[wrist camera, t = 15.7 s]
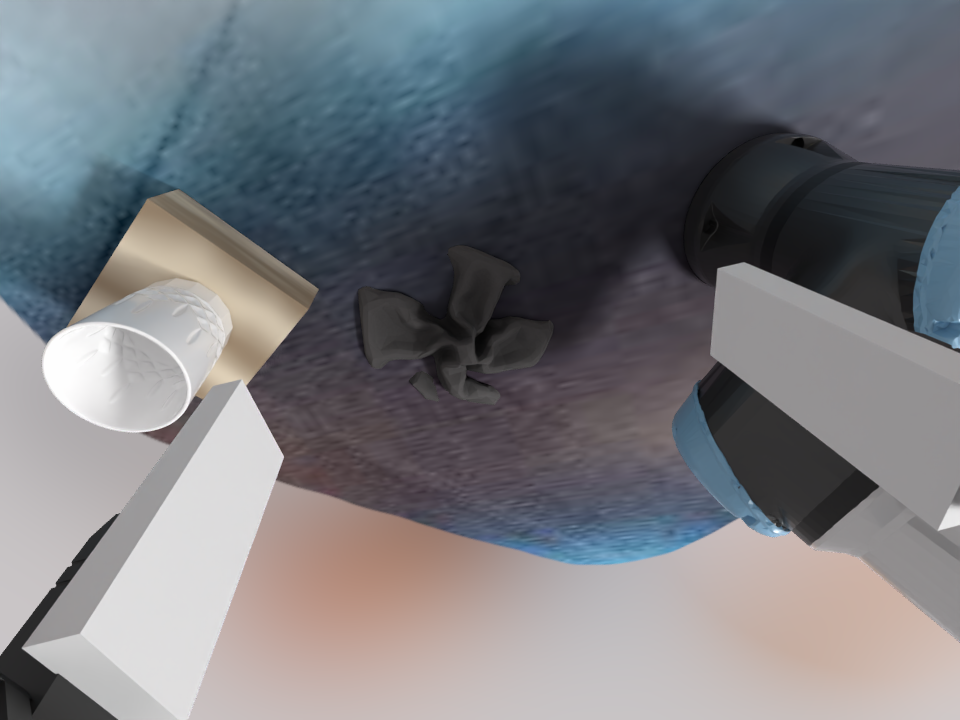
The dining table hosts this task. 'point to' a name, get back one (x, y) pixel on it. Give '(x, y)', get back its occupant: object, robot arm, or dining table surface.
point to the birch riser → (207, 279)
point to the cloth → (454, 329)
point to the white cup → (139, 356)
